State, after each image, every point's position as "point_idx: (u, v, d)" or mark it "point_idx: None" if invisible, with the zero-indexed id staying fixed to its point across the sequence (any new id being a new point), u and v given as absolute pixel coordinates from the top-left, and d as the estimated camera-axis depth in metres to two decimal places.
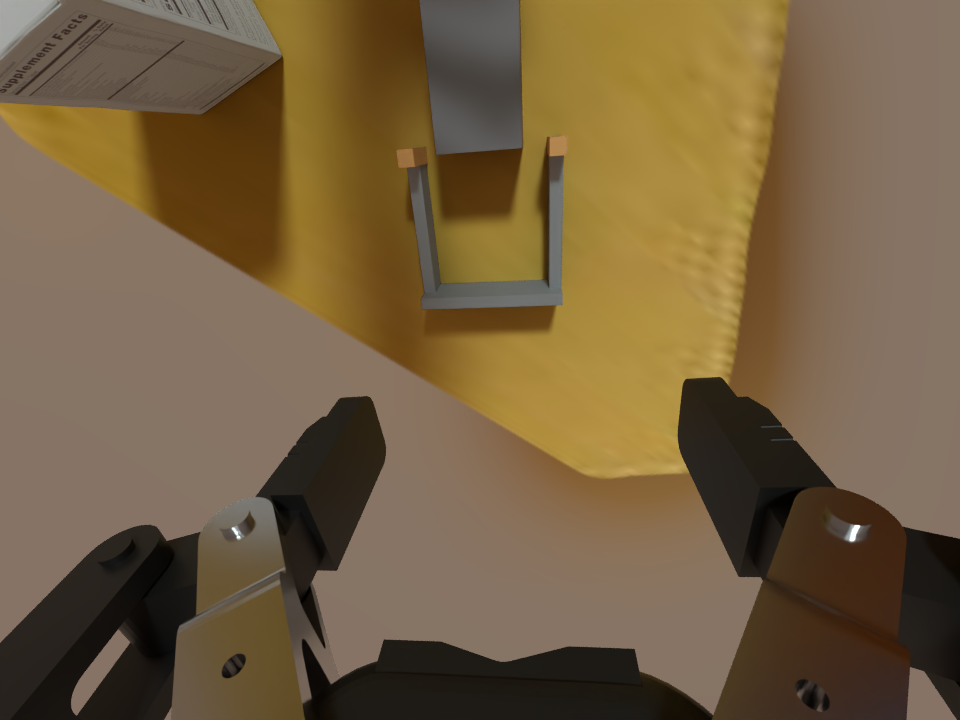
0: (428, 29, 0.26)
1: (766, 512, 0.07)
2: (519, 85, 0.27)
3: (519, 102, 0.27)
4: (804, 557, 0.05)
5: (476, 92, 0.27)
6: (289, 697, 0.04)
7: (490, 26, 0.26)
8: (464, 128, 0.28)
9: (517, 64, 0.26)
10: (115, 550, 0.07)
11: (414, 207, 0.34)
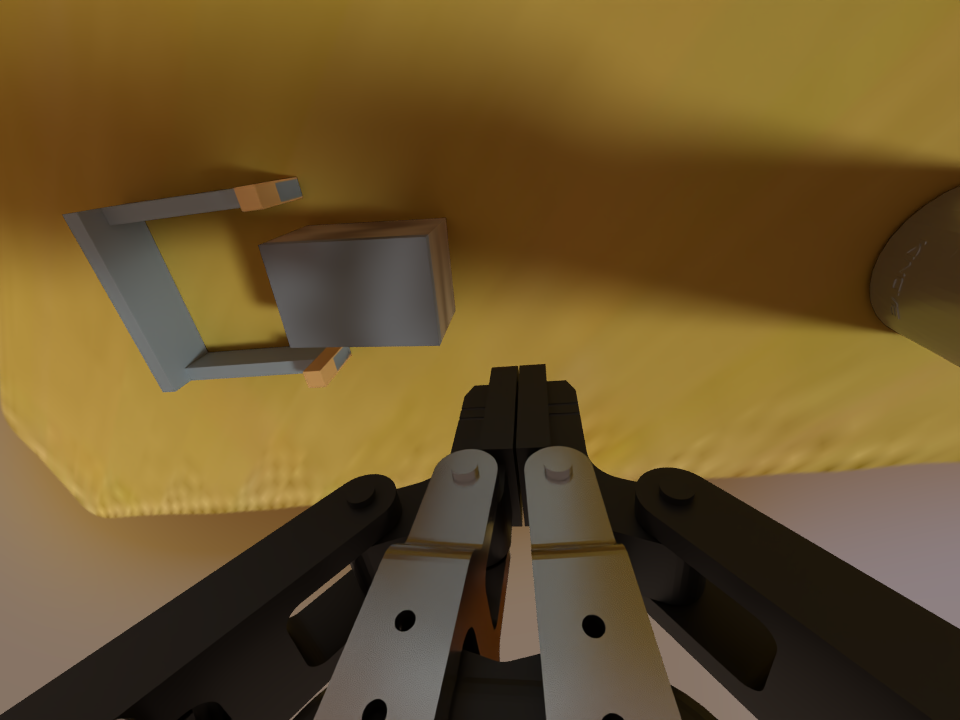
0: (388, 246, 0.21)
1: None
2: (348, 345, 0.24)
3: (332, 345, 0.24)
4: (547, 514, 0.07)
5: (334, 299, 0.23)
6: (428, 697, 0.04)
7: (396, 317, 0.23)
8: (295, 283, 0.23)
9: (366, 343, 0.24)
10: (360, 494, 0.07)
11: (208, 195, 0.24)
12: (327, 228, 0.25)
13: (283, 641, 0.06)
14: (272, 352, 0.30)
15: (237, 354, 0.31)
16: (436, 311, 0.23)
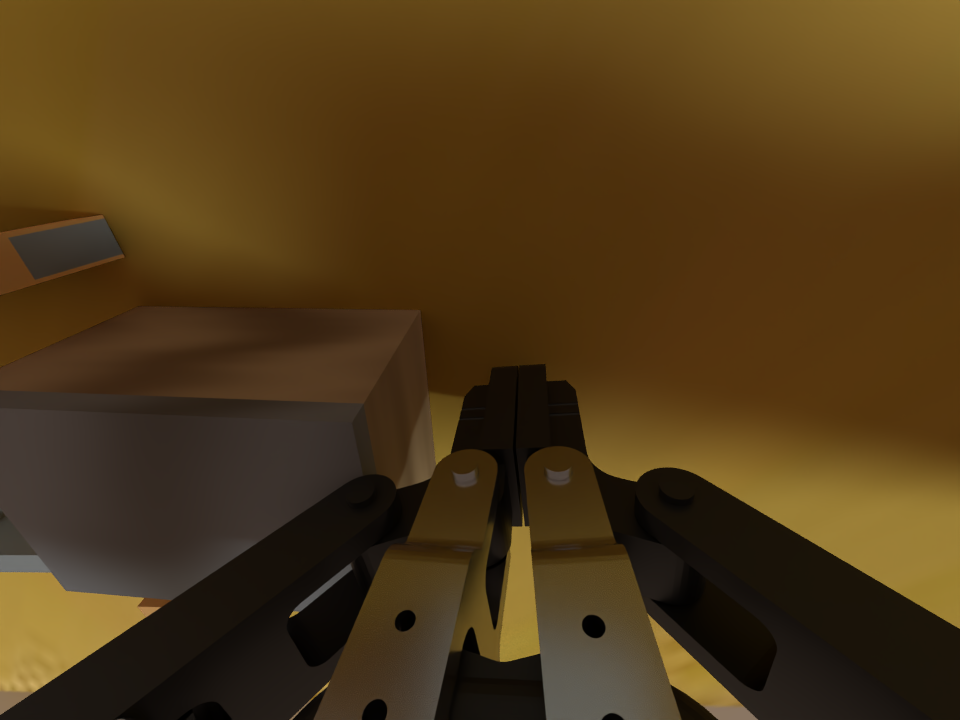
0: (252, 434, 0.08)
1: None
2: None
3: (155, 596, 0.11)
4: (547, 514, 0.07)
5: (139, 524, 0.09)
6: (428, 697, 0.04)
7: None
8: (38, 487, 0.09)
9: None
10: (359, 494, 0.07)
11: None
12: (162, 326, 0.12)
13: (283, 641, 0.06)
14: None
15: None
16: None
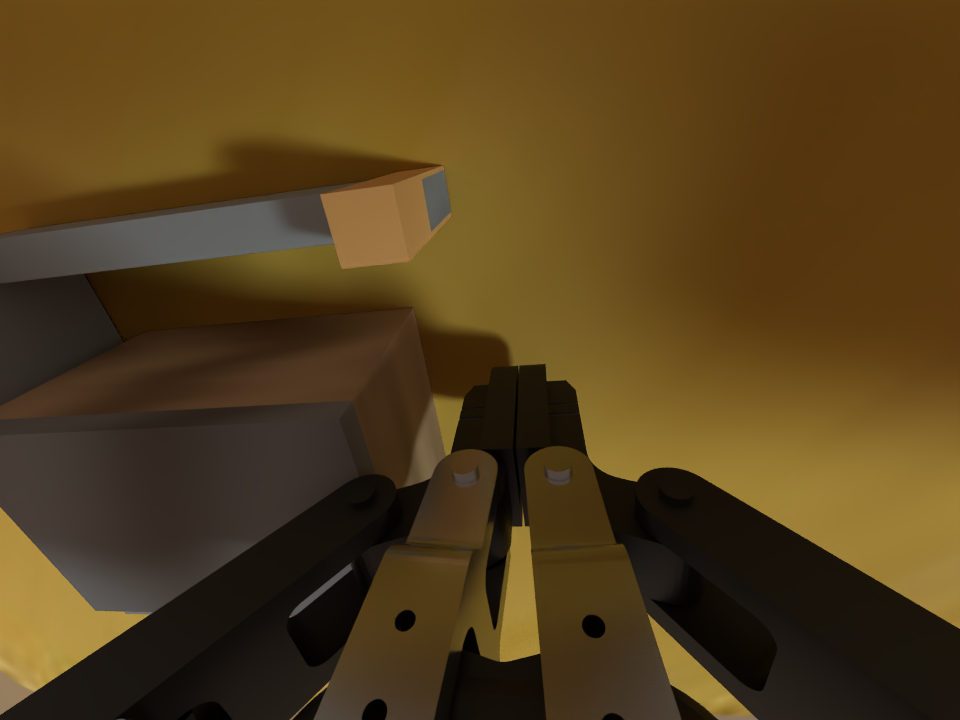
0: (245, 440, 0.08)
1: None
2: None
3: None
4: (547, 514, 0.07)
5: (153, 540, 0.10)
6: (428, 697, 0.04)
7: None
8: (56, 510, 0.10)
9: None
10: (360, 494, 0.07)
11: (228, 214, 0.09)
12: (166, 346, 0.12)
13: (283, 641, 0.06)
14: None
15: None
16: None
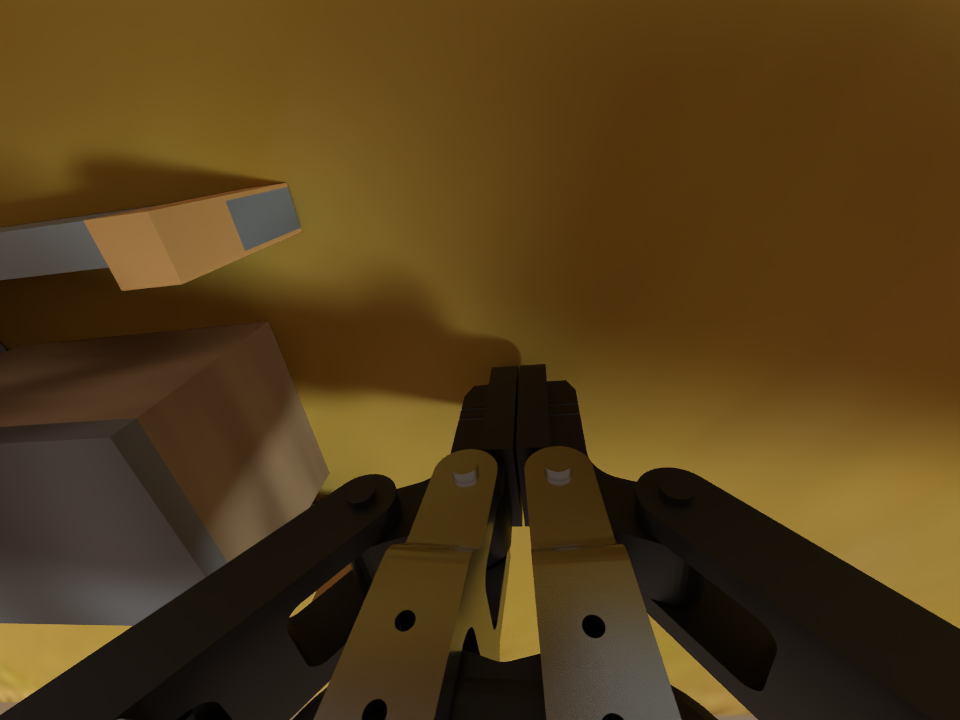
0: (32, 457, 0.08)
1: None
2: (58, 622, 0.11)
3: (27, 621, 0.11)
4: (547, 514, 0.07)
5: None
6: (428, 697, 0.04)
7: (127, 582, 0.10)
8: None
9: (91, 620, 0.11)
10: (360, 494, 0.07)
11: (51, 233, 0.09)
12: (23, 362, 0.12)
13: (283, 641, 0.06)
14: None
15: None
16: (213, 567, 0.10)
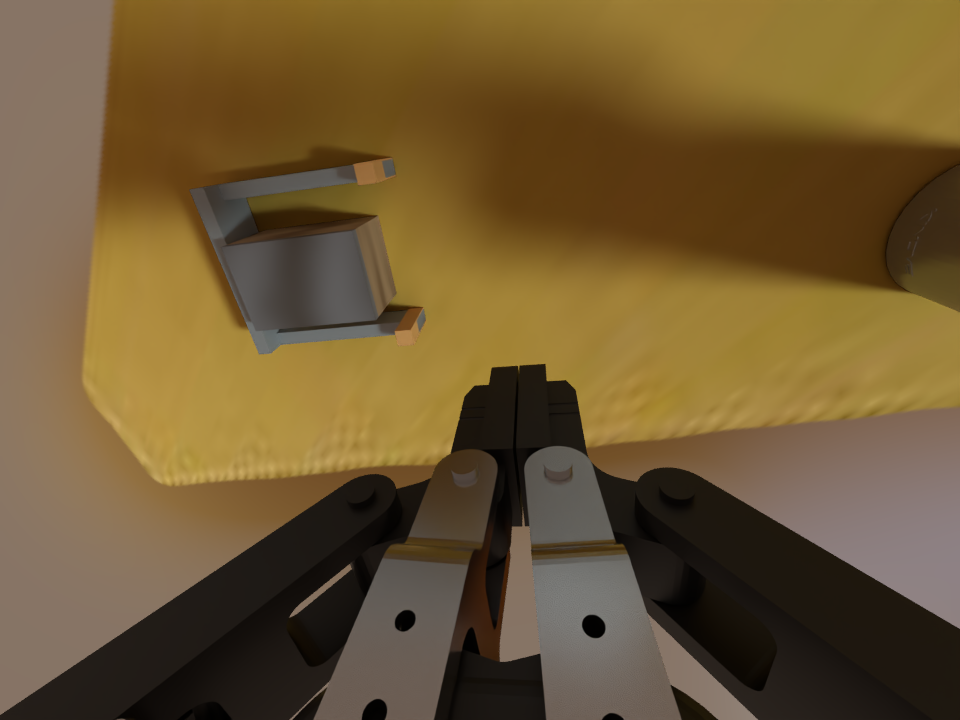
0: (323, 240, 0.26)
1: None
2: (302, 325, 0.29)
3: (289, 326, 0.29)
4: (547, 514, 0.07)
5: (286, 288, 0.28)
6: (428, 697, 0.04)
7: (338, 299, 0.28)
8: (253, 276, 0.28)
9: (317, 323, 0.29)
10: (360, 495, 0.07)
11: (319, 172, 0.27)
12: (280, 231, 0.30)
13: (283, 641, 0.06)
14: None
15: None
16: (370, 291, 0.28)
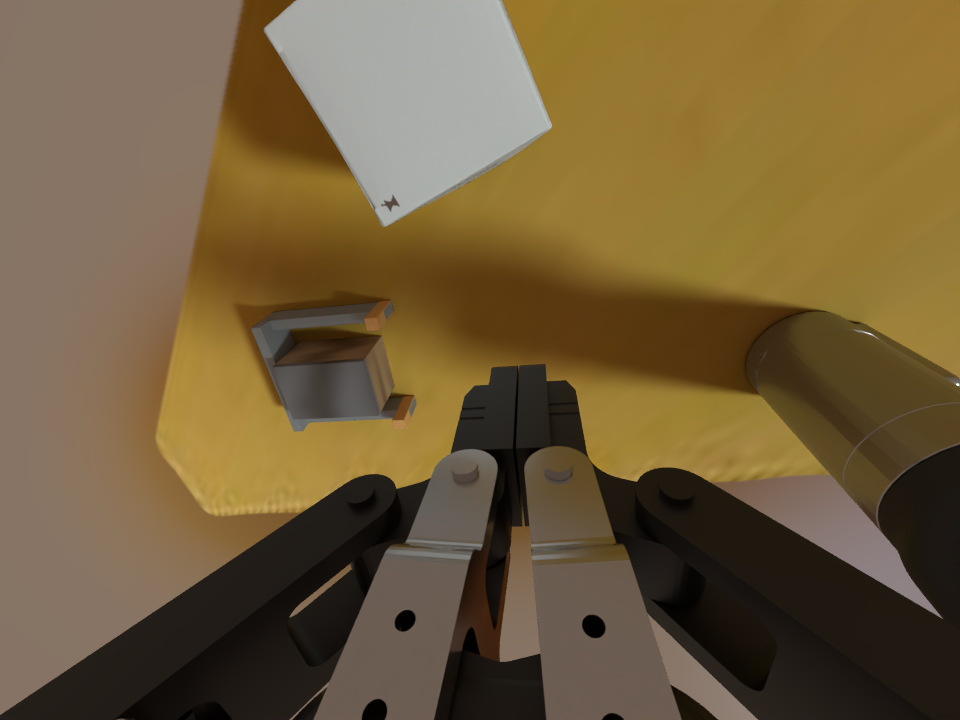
0: (343, 366, 0.38)
1: None
2: (326, 417, 0.41)
3: (317, 417, 0.41)
4: (547, 514, 0.07)
5: (316, 393, 0.40)
6: (428, 697, 0.04)
7: (352, 401, 0.40)
8: (293, 386, 0.40)
9: (337, 416, 0.41)
10: (360, 494, 0.07)
11: (340, 316, 0.39)
12: (311, 346, 0.42)
13: (283, 641, 0.06)
14: None
15: None
16: (374, 397, 0.40)
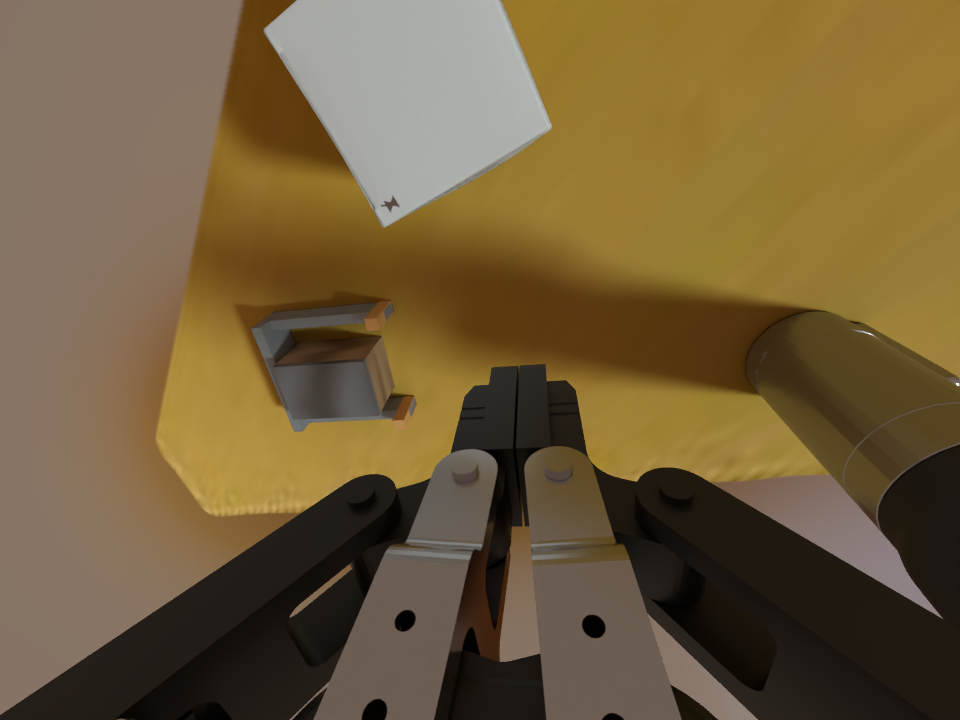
0: (343, 366, 0.38)
1: None
2: (326, 417, 0.41)
3: (317, 417, 0.41)
4: (547, 514, 0.07)
5: (316, 393, 0.40)
6: (428, 697, 0.04)
7: (352, 402, 0.40)
8: (293, 386, 0.40)
9: (337, 416, 0.41)
10: (360, 494, 0.07)
11: (340, 316, 0.39)
12: (311, 346, 0.42)
13: (283, 641, 0.06)
14: None
15: None
16: (374, 397, 0.40)
